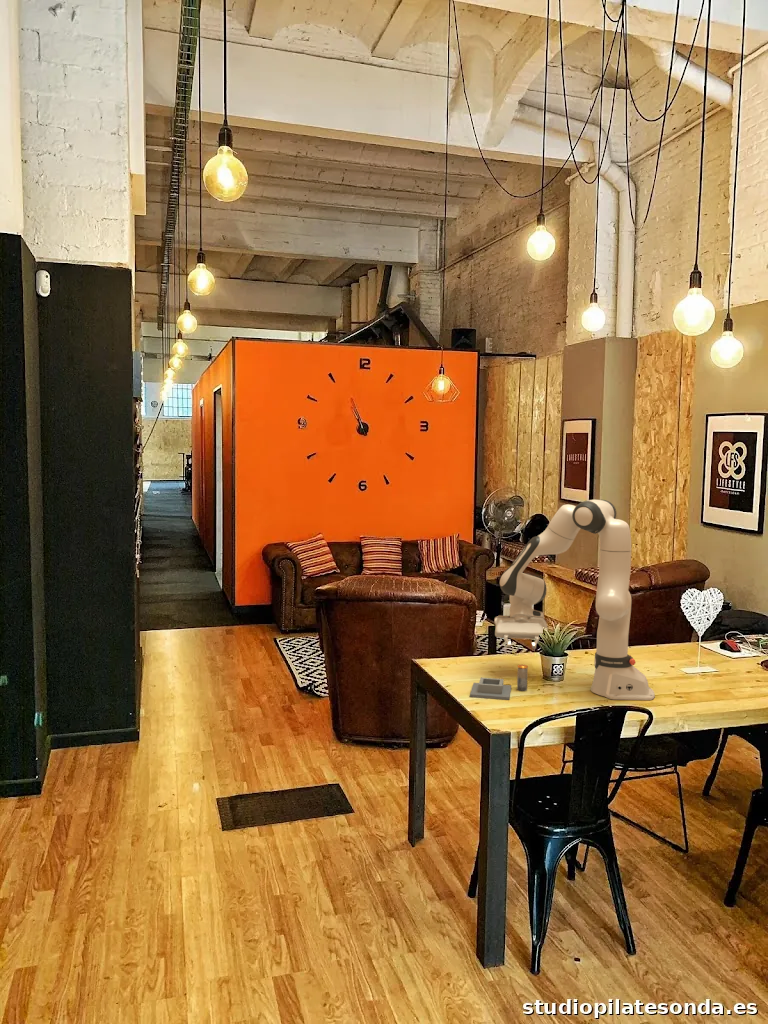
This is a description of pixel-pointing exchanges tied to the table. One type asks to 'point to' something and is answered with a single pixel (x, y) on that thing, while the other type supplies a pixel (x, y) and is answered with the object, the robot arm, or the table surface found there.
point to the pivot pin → (522, 677)
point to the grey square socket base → (491, 689)
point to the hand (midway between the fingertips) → (521, 647)
